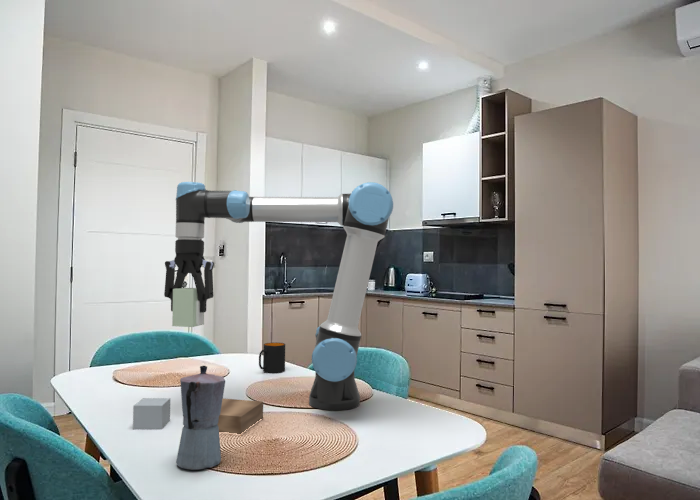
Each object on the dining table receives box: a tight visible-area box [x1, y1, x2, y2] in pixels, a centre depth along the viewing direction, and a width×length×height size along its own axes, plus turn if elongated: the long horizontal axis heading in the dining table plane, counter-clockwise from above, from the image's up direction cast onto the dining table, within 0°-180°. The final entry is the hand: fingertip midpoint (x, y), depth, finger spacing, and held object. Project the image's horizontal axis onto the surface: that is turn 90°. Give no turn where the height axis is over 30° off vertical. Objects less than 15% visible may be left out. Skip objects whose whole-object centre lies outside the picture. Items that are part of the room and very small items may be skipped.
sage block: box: [171, 287, 205, 328], centre depth 139 cm, size 6×6×10 cm
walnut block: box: [217, 397, 264, 434], centre depth 132 cm, size 14×14×5 cm
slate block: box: [132, 397, 171, 431], centre depth 131 cm, size 7×7×6 cm
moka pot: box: [175, 365, 226, 471], centre depth 106 cm, size 10×15×20 cm, turn 2°
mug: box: [258, 342, 286, 374], centre depth 195 cm, size 8×12×10 cm
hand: (188, 324), depth 139 cm, fingers closed on sage block, 6 cm apart
